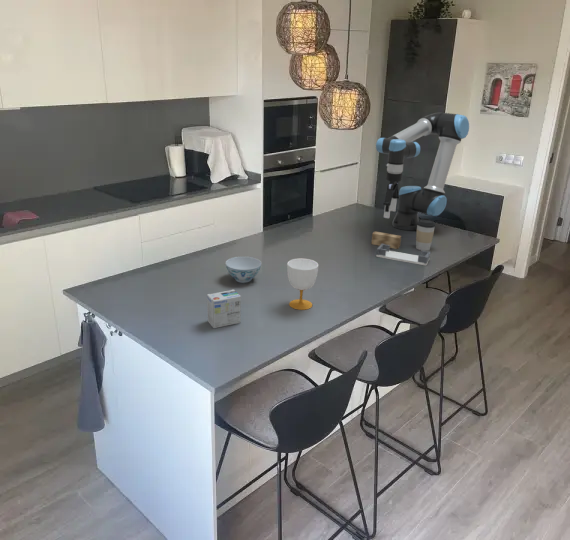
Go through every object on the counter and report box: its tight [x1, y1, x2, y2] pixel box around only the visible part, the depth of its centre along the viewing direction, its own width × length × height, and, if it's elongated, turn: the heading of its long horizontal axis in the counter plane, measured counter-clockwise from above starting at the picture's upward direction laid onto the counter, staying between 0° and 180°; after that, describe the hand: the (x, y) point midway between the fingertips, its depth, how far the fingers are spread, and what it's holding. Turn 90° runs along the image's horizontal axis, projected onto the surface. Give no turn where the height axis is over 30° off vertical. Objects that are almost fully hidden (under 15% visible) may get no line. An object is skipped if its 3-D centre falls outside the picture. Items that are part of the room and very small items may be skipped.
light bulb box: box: [206, 289, 242, 329], centre depth 191 cm, size 11×7×11 cm, turn 118°
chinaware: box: [225, 256, 262, 284], centre depth 227 cm, size 15×15×8 cm
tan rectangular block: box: [371, 231, 402, 250], centre depth 275 cm, size 14×4×6 cm, turn 64°
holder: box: [375, 244, 432, 266], centre depth 259 cm, size 9×24×4 cm, turn 66°
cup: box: [286, 258, 319, 311], centre depth 205 cm, size 12×12×17 cm
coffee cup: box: [415, 217, 436, 252], centre depth 271 cm, size 9×9×15 cm
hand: (389, 214), depth 270 cm, fingers open, 13 cm apart
